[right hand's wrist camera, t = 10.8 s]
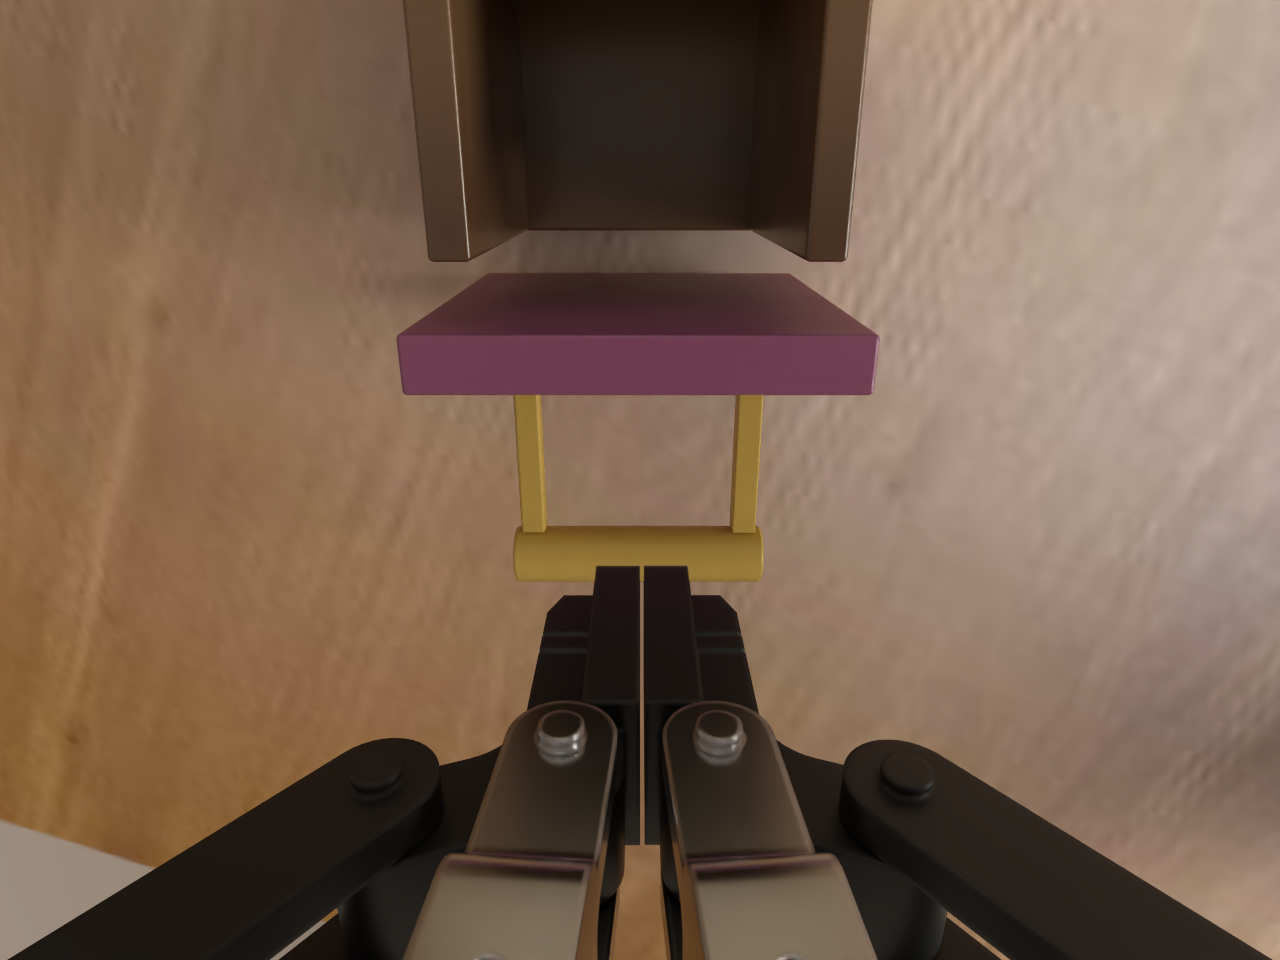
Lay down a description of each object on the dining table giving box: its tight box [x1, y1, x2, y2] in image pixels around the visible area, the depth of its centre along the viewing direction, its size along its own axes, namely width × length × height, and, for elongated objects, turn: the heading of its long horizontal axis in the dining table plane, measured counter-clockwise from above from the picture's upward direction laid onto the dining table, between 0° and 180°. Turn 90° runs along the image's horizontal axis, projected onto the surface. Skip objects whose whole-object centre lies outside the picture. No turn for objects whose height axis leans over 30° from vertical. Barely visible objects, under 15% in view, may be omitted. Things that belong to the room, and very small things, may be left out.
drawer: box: [397, 0, 880, 582], centre depth 17 cm, size 26×9×9 cm, turn 0°
